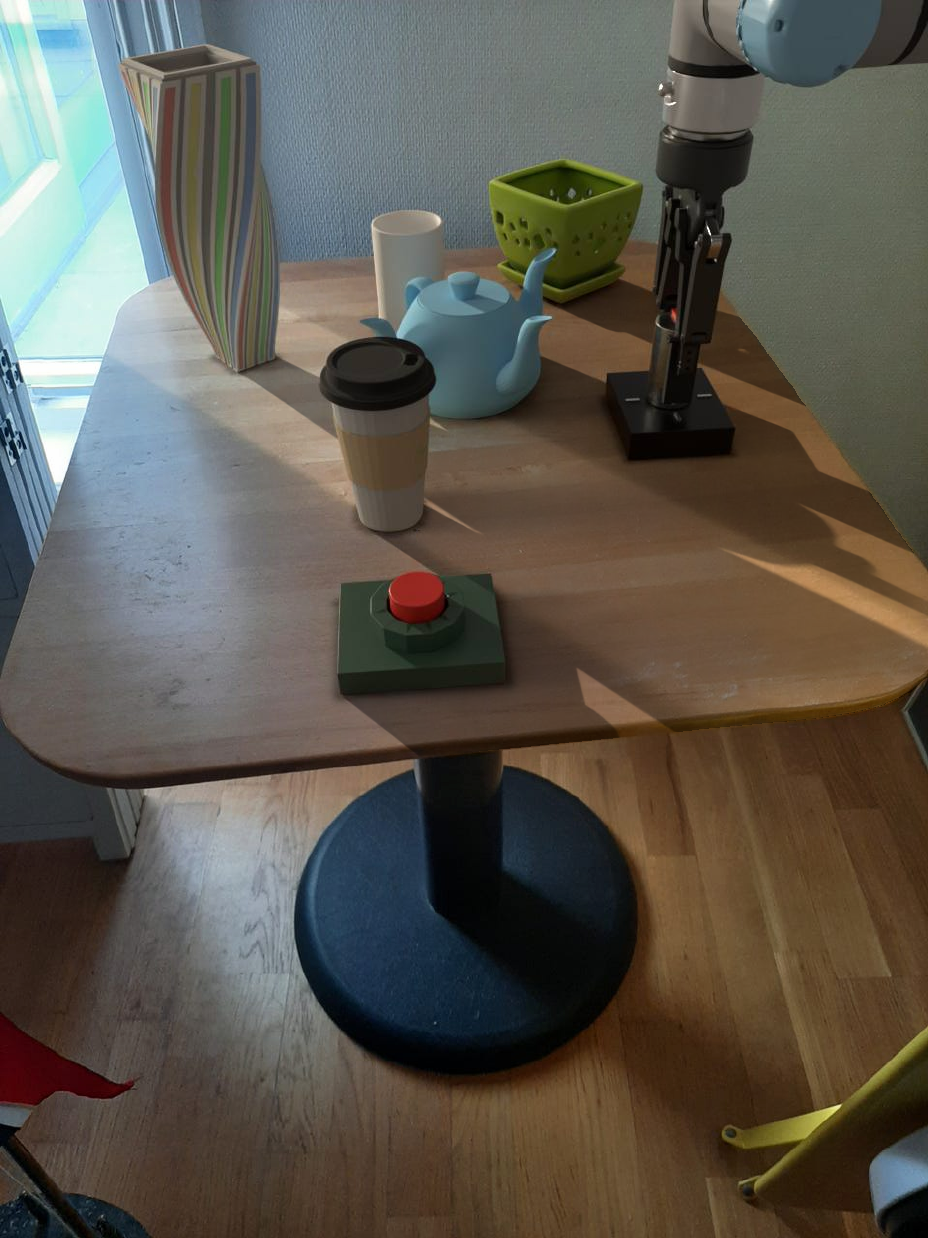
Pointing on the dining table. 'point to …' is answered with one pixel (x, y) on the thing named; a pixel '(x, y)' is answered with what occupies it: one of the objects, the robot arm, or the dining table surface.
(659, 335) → the stove knob
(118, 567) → the dining table surface
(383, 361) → the coffee cup
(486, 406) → the teapot
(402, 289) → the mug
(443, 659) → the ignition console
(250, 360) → the vase
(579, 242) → the flower pot
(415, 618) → the button
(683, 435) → the panel
